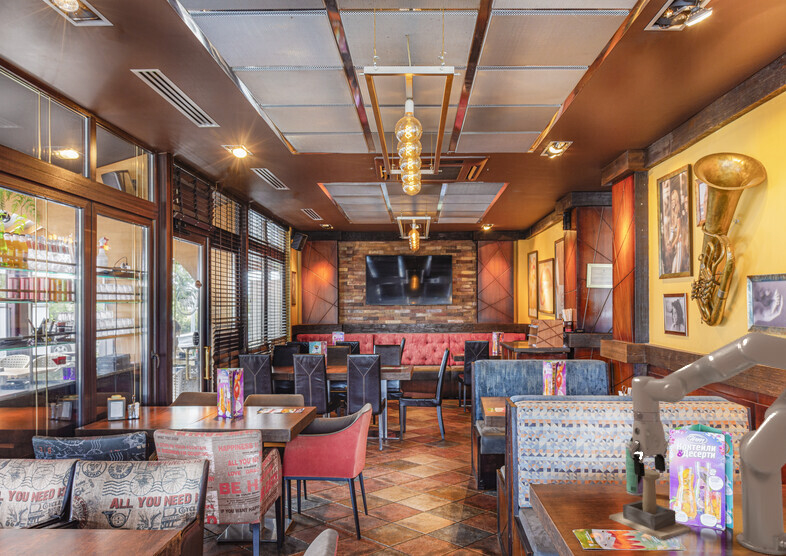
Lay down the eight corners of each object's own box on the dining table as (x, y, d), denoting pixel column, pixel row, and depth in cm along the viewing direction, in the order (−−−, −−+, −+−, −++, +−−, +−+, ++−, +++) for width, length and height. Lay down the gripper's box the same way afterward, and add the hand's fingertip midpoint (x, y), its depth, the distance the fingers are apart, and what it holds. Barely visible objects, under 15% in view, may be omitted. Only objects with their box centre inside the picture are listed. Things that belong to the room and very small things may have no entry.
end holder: (691, 530, 161) (690, 513, 161) (661, 539, 154) (660, 522, 154) (638, 510, 176) (638, 495, 177) (609, 518, 170) (609, 502, 170)
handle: (649, 525, 162) (649, 475, 163) (636, 517, 168) (635, 468, 169) (663, 524, 163) (663, 474, 163) (649, 516, 169) (649, 468, 170)
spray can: (646, 495, 191) (644, 439, 192) (630, 495, 191) (629, 438, 192) (639, 490, 196) (637, 435, 198) (624, 490, 196) (622, 435, 198)
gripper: (638, 421, 160) (642, 480, 158) (675, 415, 168) (679, 471, 167) (617, 417, 166) (621, 474, 165) (653, 412, 175) (657, 465, 173)
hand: (650, 472), depth 166 cm, fingers open, 9 cm apart
